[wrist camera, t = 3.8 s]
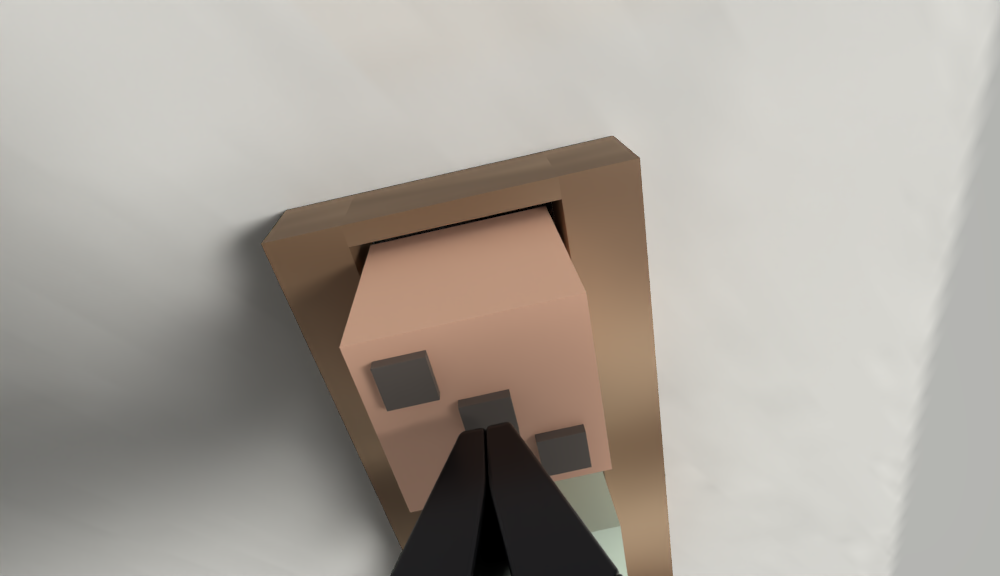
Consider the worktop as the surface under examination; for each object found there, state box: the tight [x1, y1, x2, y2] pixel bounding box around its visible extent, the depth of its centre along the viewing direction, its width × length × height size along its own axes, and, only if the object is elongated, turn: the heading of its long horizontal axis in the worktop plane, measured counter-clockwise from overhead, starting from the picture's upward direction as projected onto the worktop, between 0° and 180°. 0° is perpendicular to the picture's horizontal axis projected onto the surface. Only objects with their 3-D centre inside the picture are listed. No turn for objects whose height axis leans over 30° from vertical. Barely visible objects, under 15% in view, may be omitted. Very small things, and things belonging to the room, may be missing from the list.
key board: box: [261, 136, 673, 576], centre depth 16 cm, size 17×8×2 cm, turn 12°
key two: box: [555, 471, 628, 576], centre depth 14 cm, size 4×4×4 cm
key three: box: [339, 206, 612, 512], centre depth 11 cm, size 4×4×4 cm
